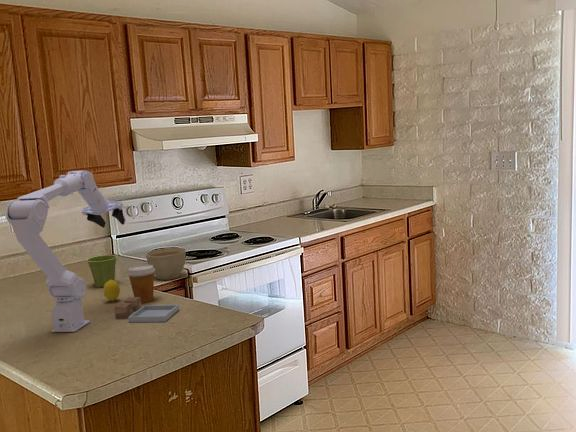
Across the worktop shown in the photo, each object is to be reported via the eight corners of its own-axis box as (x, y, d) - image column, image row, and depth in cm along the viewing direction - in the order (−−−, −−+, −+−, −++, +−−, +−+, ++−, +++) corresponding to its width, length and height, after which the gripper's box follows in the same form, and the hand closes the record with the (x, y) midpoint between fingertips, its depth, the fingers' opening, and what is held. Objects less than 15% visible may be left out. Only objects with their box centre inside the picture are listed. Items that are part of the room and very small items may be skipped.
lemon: (116, 303, 202) (113, 281, 201) (101, 303, 203) (99, 281, 202) (123, 298, 207) (121, 277, 206) (109, 299, 209) (107, 277, 208)
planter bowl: (140, 279, 236) (138, 253, 235) (174, 271, 247) (171, 246, 246) (162, 284, 225) (159, 257, 223) (196, 275, 236) (193, 249, 234)
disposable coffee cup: (163, 297, 206) (159, 264, 205) (148, 304, 197) (145, 270, 196) (140, 296, 209) (136, 264, 208) (125, 304, 200) (121, 270, 199)
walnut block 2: (136, 312, 190) (135, 300, 190) (125, 312, 191) (124, 300, 190) (141, 308, 194) (140, 297, 193) (130, 308, 195) (129, 297, 194)
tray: (165, 322, 177) (164, 316, 176) (129, 322, 179) (128, 317, 179) (179, 310, 188) (178, 304, 188) (144, 310, 191) (144, 305, 190)
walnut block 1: (127, 318, 183) (125, 306, 183) (115, 319, 184) (114, 307, 183) (132, 315, 187) (131, 303, 187) (121, 315, 188) (119, 303, 187)
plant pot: (83, 289, 227) (79, 261, 225) (101, 281, 238) (98, 254, 236) (108, 289, 223) (105, 261, 221) (126, 281, 234) (123, 254, 233)
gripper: (116, 186, 192) (135, 212, 202) (78, 192, 195) (98, 218, 205) (111, 201, 187) (130, 227, 197) (72, 208, 190) (93, 233, 200)
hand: (113, 223), depth 201 cm, fingers open, 7 cm apart
